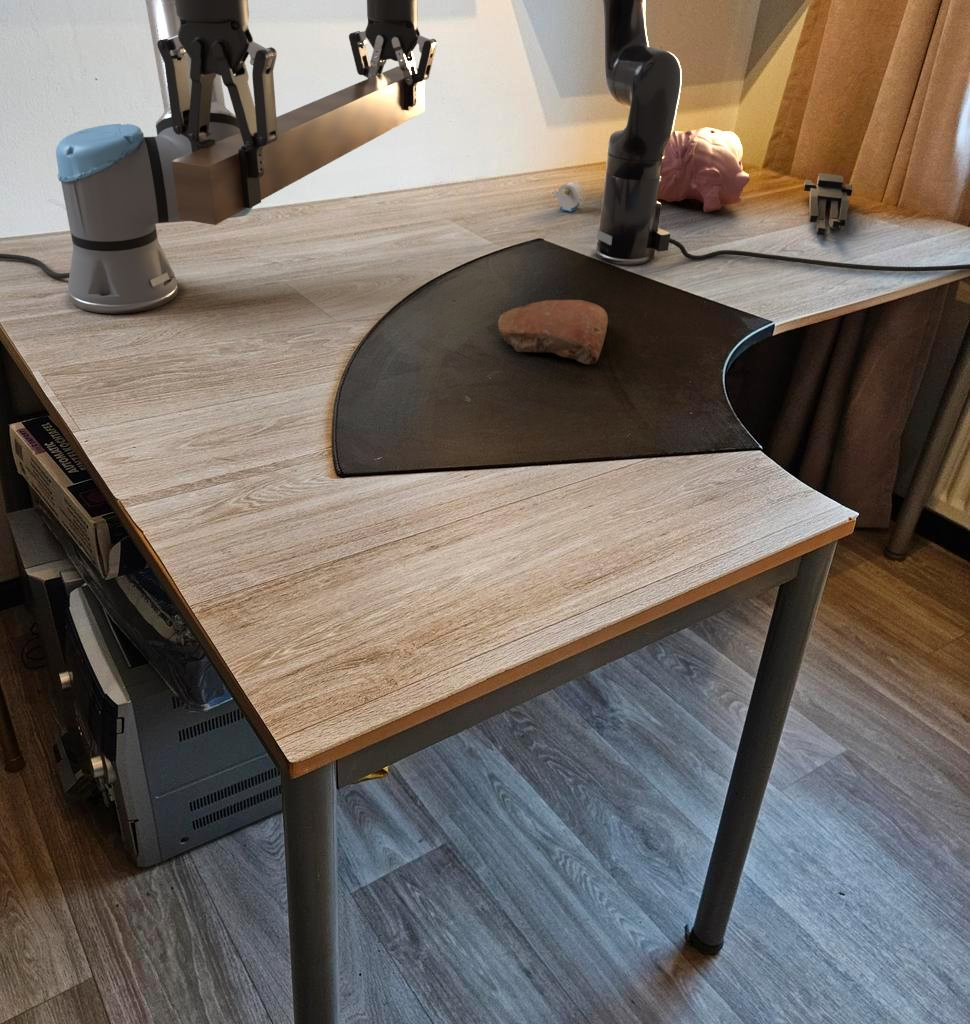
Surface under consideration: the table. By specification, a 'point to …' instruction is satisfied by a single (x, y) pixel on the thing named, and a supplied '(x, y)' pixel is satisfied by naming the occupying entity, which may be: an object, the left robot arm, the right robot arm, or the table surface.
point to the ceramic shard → (557, 328)
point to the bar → (292, 146)
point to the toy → (828, 201)
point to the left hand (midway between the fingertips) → (232, 201)
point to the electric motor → (570, 196)
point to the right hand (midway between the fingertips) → (393, 107)
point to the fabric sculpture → (703, 168)
